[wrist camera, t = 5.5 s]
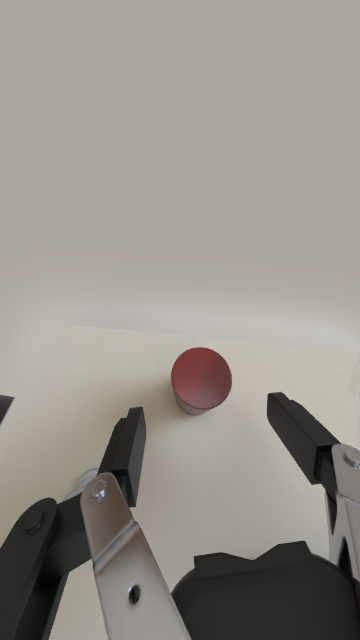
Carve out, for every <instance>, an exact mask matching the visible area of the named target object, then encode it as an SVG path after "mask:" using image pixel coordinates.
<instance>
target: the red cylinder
mask: <svg viewBox="0 0 360 640" xmlns="http://www.w3.org/2000/svg"><path fill="white" fill-rule="evenodd" d="M171 379H172V385H173V389H174V392H175V396H176V399H177V402H178V404H179V406H180V407H181V409H182V410H184V411H185V412H186V413H188V414H191V415H200V414H203V413H205V412H207V411H209V410H211V409H213V408H214V407H216V406H218V405H220V404H221V403H222V402H223V401H224V400H225V399H226V398H227V396H228V395H229V392H230V390H231V386H232V375H231V371H230V368H229V366H228V364H227V362H226V361H225V360H224V358H223V357H222V356H221V355H219V354H218V353H217V352H215V351H213V350H211V349H207V348H192V349H189V350H187V351H185V352H184V353H182V354H181V355H180V356H179V357H178V358H177V360H176V361H175V363H174V365H173V368H172V373H171Z"/></svg>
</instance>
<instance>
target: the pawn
mask: <svg viewBox="0 0 360 640" xmlns="http://www.w3.org/2000/svg"><path fill="white" fill-rule="evenodd" d="M98 470H99V469H93V470H90V471H88V472H86V473H85V474H84V475H83V476H82V477H81V478H80V479H79V481H78V483H77V485H76V487H75V490H74V491H73V492H71V493H69V494H68V495H67V496H66V497H65V499H64V500H63V501H65V500H68V499H70V498H72V497H74V496H76V495H78V494H79V493H81V492H82V491H83V490H84V488H85V487H86V485H87V484H88V483H89V482H90V481H91V480H92V479H93V478H94V477H95V476H96V475H97V473H98Z"/></svg>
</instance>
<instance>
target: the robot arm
mask: <svg viewBox="0 0 360 640" xmlns="http://www.w3.org/2000/svg"><path fill="white" fill-rule="evenodd" d="M267 417H268V421H269V423H270V425H271V426H272V428H273V429H274V430H275V432H276V433H277V435H278V436H279V438H280V439H281V441H282V442H283V444H284V445H285V447H286V448H287V449H288V451H289V452H290V454H291V455H292V457H293V458H294V460H295V461H296V463H297V464H298V466H299V467H300V468H301V470H302V471H303V473H304V474H305V476H306V477H307V479H308V480H309V482H310V483H311V484H312V485H314V484H322V486H323V487H324V488H325V504H326V514H327V523H328V533H329V545H330V550H329V561H328V560H326V559H324V558H322V557H320V556H318V555H315V554H312V553H311V552H310V550H309V548H308V546H307V544H306V542H305V541H298V542H291V543H284V544H278V545H276V546H275V547H273V548H272V549H270V550H269V551H267V552H266V553H264V554H263V555H261V556H260V557H258V558H257V559H255V560H249V559H245V558H241V557H238V556H234V555H230V554H226V553H222V552H221V553H214V554H206V555H199V556H194V564H195V568H194V569H193V570H191V571H190V572H188V573H187V574H186V575H185V576H184V577H183V578H182V579H181V580H180V581H179V583H178V584H177V585H176V586H175V588H174V590H173V591H172V593H170V591H169V589H168V587H167V585H166V582H165V580H164V578H163V576H162V574H161V571H160V569H159V567H158V565H157V563H156V560H155V558H154V556H153V554H152V552H151V550H150V547H149V545H148V543H147V541H146V539H145V536H144V534H143V532H142V530H141V528H140V526H139V524H138V522H137V521H136V522H135V520H134V518H133V516H132V514H131V511H130V509H129V507H136V500H137V494H138V487H139V480H140V474H141V467H142V461H143V454H144V447H145V441H146V424H145V418H144V411H143V407H136V408H130V409H129V412H128V416H127V418H121V419H120V420H119V422H118V423H117V424H116V425H115V427H114V430H113V433H112V436H111V438H110V441H109V444H108V446H107V449H106V451H105V454H104V457H103V459H102V462H101V465H100V468H99V470H98V473H97V475H96V476H95V477H94V478H93V479H92V480H91V481H90V482H89V483H88V484H87V485H86V487H85V488H84V490H83V491H82V492H81V493H79V494H78V495H76V496H74V497H72V498H70V499H68V500H65V501H63V502H61V503H59V504H57V503H56V501H55V500H54V499H53V498H45V499H42V500H40V501H38V502H36V503H35V504H33V505H32V506H31V507H29V508H28V509H27V510H26V511H25V512H24V513H23V514H22V515H21V516H20V518H19V519H18V520H17V522H16V523H15V525H14V526H13V528H12V530H11V532H10V533H9V535H8V537H7V538H6V540H5V542H4V543H3V545H2V547H1V548H0V640H48V639H49V636H50V633H51V629H52V626H53V623H54V620H55V616H56V613H57V610H58V607H59V603H60V600H61V597H62V594H63V590H64V587H65V584H66V581H67V577H68V574H69V572H70V571H72V570H73V569H75V568H77V567H78V566H80V565H82V564H83V563H85V562H87V561H88V560H90V559H91V558H92V561H93V570H94V576H95V580H96V585H97V590H98V594H99V599H100V603H101V608H102V613H103V617H104V622H105V626H106V631H107V636H108V640H360V451H359V450H358V449H356V448H354V447H351V446H348V445H345V444H341V443H340V442H339V441H338V440H337V439H336V438H335V437H334V436H333V435H332V434H331V433H330V432H329V431H328V430H327V429H326V428H325V427H324V426H323V425H322V424H321V423H320V422H319V421H318V420H316V419H315V418H314V417H313V416H312V415H311V414H310V413H309V412H308V411H307V410H306V409H305V408H304V407H303V406H302V405H300V404H299V403H297V402H295V401H294V400H289V399H288V398H287V397H286V396H285V395H284V394H283V393H282V392H276V393H269V394H268V399H267Z"/></svg>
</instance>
